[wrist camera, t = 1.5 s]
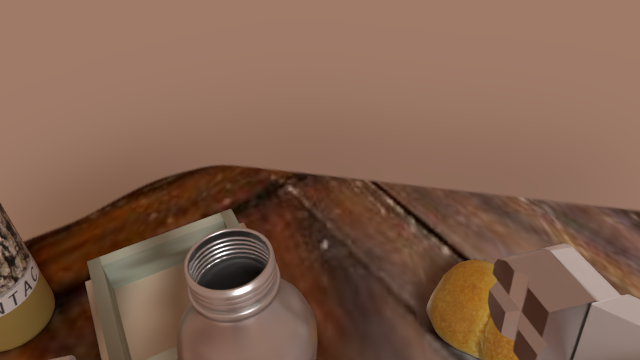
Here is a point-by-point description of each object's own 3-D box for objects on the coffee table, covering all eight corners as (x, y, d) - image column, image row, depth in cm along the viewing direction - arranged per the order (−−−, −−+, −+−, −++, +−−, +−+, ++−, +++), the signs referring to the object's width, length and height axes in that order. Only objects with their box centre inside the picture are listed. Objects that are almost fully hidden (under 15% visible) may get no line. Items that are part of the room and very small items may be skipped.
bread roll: (535, 391, 40) (545, 359, 37) (414, 338, 44) (416, 305, 41) (566, 303, 45) (577, 270, 42) (455, 262, 49) (459, 229, 46)
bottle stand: (245, 231, 53) (238, 197, 50) (310, 350, 43) (305, 316, 41) (89, 291, 49) (72, 257, 46) (121, 437, 39) (101, 405, 37)
